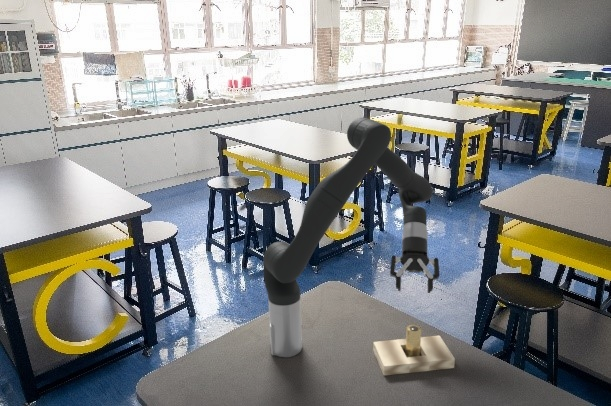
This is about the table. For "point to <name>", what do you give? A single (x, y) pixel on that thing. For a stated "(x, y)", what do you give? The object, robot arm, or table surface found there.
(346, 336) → the table surface
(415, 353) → the bushing
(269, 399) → the table surface
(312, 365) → the table surface
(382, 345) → the jig
